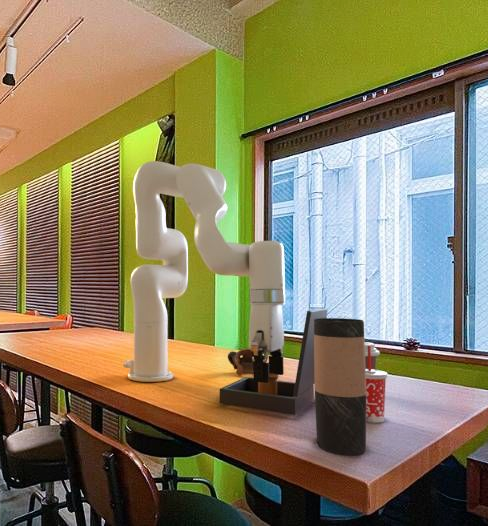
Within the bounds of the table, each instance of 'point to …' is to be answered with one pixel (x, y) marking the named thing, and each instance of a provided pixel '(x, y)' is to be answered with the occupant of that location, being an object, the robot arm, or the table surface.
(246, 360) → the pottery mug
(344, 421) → the travel mug
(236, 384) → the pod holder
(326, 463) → the table surface
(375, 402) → the beverage cup
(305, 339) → the lid
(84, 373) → the table surface
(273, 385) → the orange brown spool
